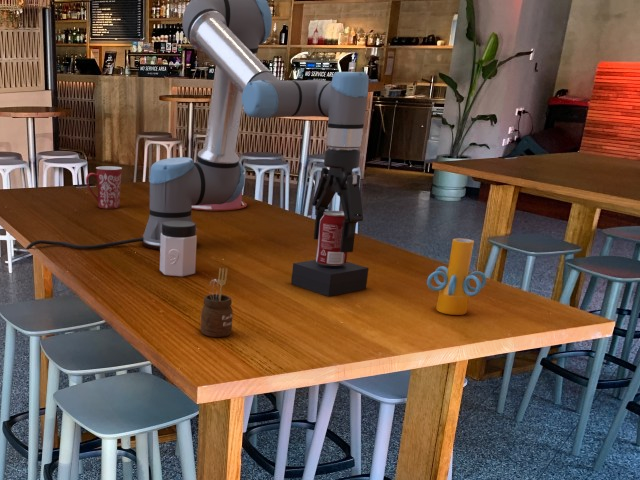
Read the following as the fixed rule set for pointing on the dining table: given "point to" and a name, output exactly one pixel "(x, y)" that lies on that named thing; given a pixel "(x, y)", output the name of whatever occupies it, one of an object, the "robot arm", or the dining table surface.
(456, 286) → the cylinder
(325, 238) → the soda can
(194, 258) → the jar
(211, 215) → the dining table surface
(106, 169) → the mug
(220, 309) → the utensil holder
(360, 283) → the pad bottom
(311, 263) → the pad top
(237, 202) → the cake
